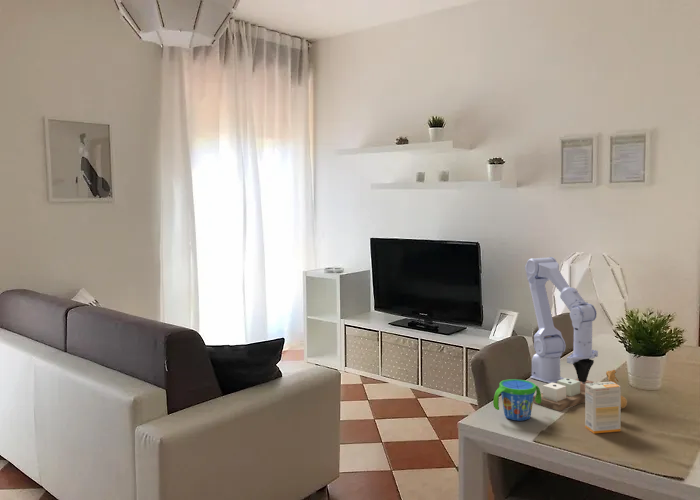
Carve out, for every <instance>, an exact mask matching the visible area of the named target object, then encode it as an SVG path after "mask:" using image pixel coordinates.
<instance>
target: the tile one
mask: <svg viewBox="0 0 700 500" xmlns="http://www.w3.org/2000/svg"><path fill="white" fill-rule="evenodd" d="M542 393H543V398H546V399H549V400H553V401H556V402H557V401H560V400H563V399H566V386H564V385H560V384H557V383H553V382H552V383H546V384H544V385H542Z"/></svg>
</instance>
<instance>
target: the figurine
mask: <svg viewBox="0 0 700 500" xmlns="http://www.w3.org/2000/svg"><path fill="white" fill-rule="evenodd" d="M616 373H617V372H616V370H615V369H612V370H607V371H606V377H607V378H608V382H614V383H615V384H617V385H619V384H618V383H619V379H618V378H617V376H616ZM627 405H628V400H627V398H626V397H624V396H623V395H621V410H623V409H625V408H626V407H627Z"/></svg>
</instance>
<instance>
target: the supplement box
mask: <svg viewBox="0 0 700 500" xmlns="http://www.w3.org/2000/svg"><path fill="white" fill-rule="evenodd" d="M617 384H618V383H617ZM617 384H615V383H614V382H609V381H602V382H601V381H599V382H594V383H586V384H585V402H584V403H585V404H584V406H585V407H584V408H585V409H584V417H585V418H584V420H585V421H584V427H585V429H586V430H587V431H590V432H591V433H592V434H593V435H594V434H605V433H615V432H616V433H617V432H621V423H622V422H621V419H622V417H621V412H622V411H621V410H622V409H621V396H622V390H621V389H622V386H621V385H619V384H618V385H617Z"/></svg>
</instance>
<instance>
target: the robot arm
mask: <svg viewBox="0 0 700 500" xmlns="http://www.w3.org/2000/svg"><path fill="white" fill-rule="evenodd" d="M524 270H525V274H526V279H527V282H528V286H529V290H530V295H531V298H532V304H533V309H534V314H535V317H536V322H537V327H538V330H537V332H535V334H534V335H533V348H534V352H535V353H534V354H533V355H532V359H531V375H530V376H529V378H530V379H533V380H537V381H540V382H544V383H546V384H549V383H552V382H553V383H557V381H559V380H562V379H565V378H566V377H562V376H561V356H563V354H564V352H565V351H566V348H567V346H566V342H565V339H564V338H563V335H562V331H561V330H559V329H557V327H555V325H554V319H553V316H552V311H551V307H550V306H551V305H550V303H549V302H550V301H549V297H548V294H547V293H548V292H547V288H546V283H547V282H549V281H550V282H551V284H553V285H554V287H555V288H556V289H557V290H558V291H559V292H560V295H559V297H560V300H561V301H562V302H563V303H564V305H565V307H567V309H568V311H569V318H570V320H571V326H572V328H573V349H572V350H573V352H572V353H571V354H570V355H569V356H567V357H566V363H567V364H570V365H573V367H574V370H575V371H576V372H575V373H576V376H577V379H578V380H579V381H581V382H586V381H587V380H588V377H589V374H590V370H591V368H592V367H593V365H594V363H595V361H594V360H595V358H597V357H599V351H598V350H596V349H593V322H594V321H595V320H596V318H597V309H596V308H595V306H594V305H593V304H592V303H588V302H587V301H585V300H584V298H583V296H582V295H581V294H580V293H579V292H578V290H577V289H576V288H575V287H571V286H570V285H569V284H568V283H567V280H566V279H565V277H564V276H563V274H562V273H561V271H560V263H559V262H557V259H556V258H555V257H553V256H550V257H537V258H534V257H531V258H529V259H528V260H527V261H526V264H525V266H524Z"/></svg>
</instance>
